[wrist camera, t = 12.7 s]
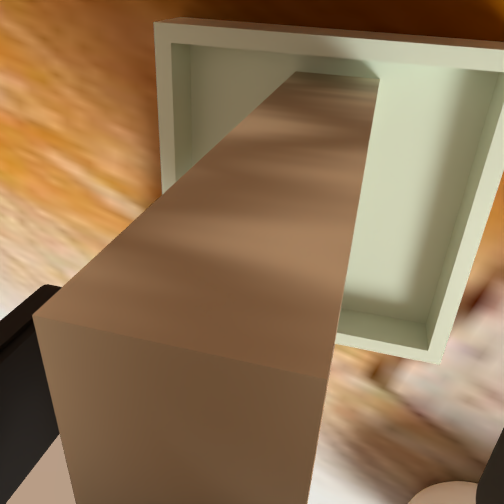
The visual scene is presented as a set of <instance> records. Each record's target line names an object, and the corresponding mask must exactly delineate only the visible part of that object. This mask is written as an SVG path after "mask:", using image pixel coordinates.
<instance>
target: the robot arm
mask: <svg viewBox="0 0 504 504" xmlns="http://www.w3.org/2000/svg"><path fill="white" fill-rule="evenodd" d="M61 288H62V287H58V286H53V285H49V284H47V285H43V286H42V287H40V288H39V289H38V290H37V291H35V292H34V293H33V294H32V295H31V296H29V297H28V298H27V299H26V300H25V301H23V302H22V303H21V304H20V305H19V306H17V307H16V308H15V309H14V310H13V311H11V312H10V313H9V314H8V315H7V316H5V317H4V318H3V319H2V320H1V321H0V504H6V502H7V501H8V500H9V499H10V497H11V496H12V495H13V493H14V492H15V491H16V489H17V488H18V487H19V486H20V484H21V483H22V482H23V480H24V479H25V477H26V476H27V475H28V474H29V473H30V471H31V470H32V469H33V467H34V466H35V465H36V463H37V462H38V461H39V460H40V458H41V457H42V456H43V454H44V453H45V452H46V451H47V449H48V448H49V447H50V445H51V444H52V443H53V441H54V440H55V439H56V438H57V436H58V435H59V434H60V433H59V428H58V424H57V420H56V416H55V411H54V407H53V403H52V398H51V394H50V390H49V386H48V381H47V377H46V373H45V368H44V364H43V360H42V356H41V351H40V347H39V343H38V338H37V334H36V330H35V326H34V321H33V317H32V315H33V314H34V313H35V312H36V311H37V310H38V309H39V308H40V307H41V306H43V305H44V304H45V303H46V302H47V301H48V300H49V299H50V298H51V297H52V296H53V295H54V294H56V293H57V292H58V291H59V290H60V289H61ZM476 504H504V428H503V430H502V433H501V435H500V437H499V439H498V441H497V444H496V446H495V448H494V450H493V452H492V454H491V457H490V459H489V461H488V463H487V465H486V468H485V470H484V472H483V474H482V476H481V478H480V481H479V483H478V486H477V490H476Z"/></svg>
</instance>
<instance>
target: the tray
mask: <svg viewBox="0 0 504 504" xmlns="http://www.w3.org/2000/svg"><path fill="white" fill-rule="evenodd" d="M153 24H154V43H155V63H156V83H157V102H158V122H159V141H160V161H161V181H162V194H164V193H165V192H166V191H167V190H168V189H169V188H170V187H171V186H172V185H173V184H174V183H175V182H177V181H178V180H179V179H180V178H181V177H182V176H183V175H184V174H185V173H186V172H187V171H188V170H190V169H191V168H192V167H193V166H194V165H195V164H196V163H197V162H198V161H199V160H200V159H201V158H202V157H204V156H205V155H206V154H207V153H208V152H209V151H210V150H211V149H212V148H213V147H214V146H215V145H217V144H218V143H219V142H220V141H221V140H222V139H223V138H224V137H225V136H226V135H227V134H228V133H229V132H231V131H232V130H233V129H234V128H235V127H236V126H237V125H238V124H239V123H240V122H241V121H242V120H244V119H245V118H246V117H247V116H248V115H249V114H250V113H251V112H252V111H253V110H254V109H255V108H257V107H258V106H259V105H260V104H261V103H262V102H263V101H264V100H265V99H266V98H267V97H268V96H269V95H271V94H272V93H273V92H274V91H275V90H276V89H277V88H278V87H279V86H280V85H281V84H282V83H284V82H285V81H286V80H287V79H288V78H289V77H290V76H291V75H292V74H293V73H294V72H295V71H298V72H309V73H320V74H330V75H341V76H352V77H363V78H374V79H380V82H379V88H378V94H377V100H376V106H375V111H374V117H373V123H372V129H371V135H370V141H369V147H368V153H367V158H366V164H365V170H364V176H363V182H362V188H361V194H360V199H359V205H358V211H357V217H356V223H355V229H354V235H353V241H352V246H351V252H350V258H349V264H348V270H347V276H346V282H345V287H344V293H343V299H342V305H341V311H340V317H339V322H338V328H337V334H336V340H335V344H340V345H345V346H350V347H354V348H359V349H364V350H369V351H374V352H379V353H384V354H389V355H393V356H398V357H403V358H408V359H413V360H418V361H423V362H428V363H432V364H437V365H440V363H441V360H442V357H443V354H444V351H445V348H446V344H447V341H448V338H449V335H450V332H451V329H452V326H453V323H454V320H455V317H456V314H457V311H458V308H459V305H460V302H461V299H462V296H463V293H464V290H465V286H466V283H467V280H468V277H469V274H470V271H471V268H472V265H473V262H474V259H475V256H476V253H477V250H478V247H479V244H480V241H481V238H482V235H483V232H484V228H485V225H486V222H487V219H488V216H489V213H490V210H491V207H492V204H493V201H494V198H495V195H496V192H497V189H498V186H499V183H500V180H501V177H502V174H503V171H504V42H499V41H486V40H473V39H461V38H448V37H435V36H422V35H409V34H396V33H383V32H370V31H357V30H344V29H331V28H318V27H305V26H292V25H279V24H266V23H253V22H240V21H227V20H214V19H202V18H189V17H177V18H172V19H166V20H161V21H156V22H153Z"/></svg>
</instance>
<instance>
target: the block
mask: <svg viewBox="0 0 504 504" xmlns="http://www.w3.org/2000/svg"><path fill="white" fill-rule="evenodd" d="M379 82H380V79H374V78H363V77H352V76H341V75H330V74H320V73H309V72H298V71H295V72H294V73H293V74H292V75H291V76H290V77H289V78H288V79H287V80H286V81H285V82H284V83H282V84H281V85H280V86H279V87H278V88H277V89H276V90H275V91H274V92H273V93H272V94H271V95H269V96H268V97H267V98H266V99H265V100H264V101H263V102H262V103H261V104H260V105H259V106H258V107H257V108H255V109H254V110H253V111H252V112H251V113H250V114H249V115H248V116H247V117H246V118H245V119H244V120H242V121H241V122H240V123H239V124H238V125H237V126H236V127H235V128H234V129H233V130H232V131H231V132H229V133H228V134H227V135H226V136H225V137H224V138H223V139H222V140H221V141H220V142H219V143H218V144H217V145H215V146H214V147H213V148H212V149H211V150H210V151H209V152H208V153H207V154H206V155H205V156H204V157H202V158H201V159H200V160H199V161H198V162H197V163H196V164H195V165H194V166H193V167H192V168H191V169H190V170H188V171H187V172H186V173H185V174H184V175H183V176H182V177H181V178H180V179H179V180H178V181H177V182H175V183H174V184H173V185H172V186H171V187H170V188H169V189H168V190H167V191H166V192H165V193H164V194H162V195H161V196H160V197H159V198H158V199H157V200H156V201H155V202H154V203H153V204H152V205H151V206H150V207H148V208H147V209H146V210H145V211H144V212H143V213H142V214H141V215H140V216H139V217H138V218H137V219H135V220H134V221H133V222H132V223H131V224H130V225H129V226H128V227H127V228H126V229H125V230H124V231H123V232H121V233H120V234H119V235H118V236H117V237H116V238H115V239H114V240H113V241H112V242H111V243H110V244H108V245H107V246H106V247H105V248H104V249H103V250H102V251H101V252H100V253H99V254H98V255H97V256H95V257H94V258H93V259H92V260H91V261H90V262H89V263H88V264H87V265H86V266H85V267H84V268H83V269H81V270H80V271H79V272H78V273H77V274H76V275H75V276H74V277H73V278H72V279H71V280H70V281H68V282H67V283H66V284H65V285H64V286H63V287H62V288H61V289H60V290H59V291H58V292H57V293H56V294H54V295H53V296H52V297H51V298H50V299H49V300H48V301H47V302H46V303H45V304H44V305H43V306H41V307H40V308H39V309H38V310H37V311H36V312H35V313H34V314H33V315H32V317H33V321H34V326H35V330H36V334H37V338H38V343H39V347H40V351H41V356H42V360H43V364H44V368H45V373H46V377H47V381H48V386H49V390H50V394H51V398H52V403H53V407H54V411H55V416H56V420H57V424H58V428H59V433H60V437H61V441H62V445H63V450H64V454H65V458H66V463H67V467H68V471H69V475H70V479H71V484H72V488H73V492H74V497H75V501H76V504H307V503H308V497H309V491H310V485H311V480H312V474H313V468H314V462H315V456H316V451H317V445H318V439H319V433H320V427H321V421H322V416H323V410H324V404H325V398H326V392H327V386H328V381H329V375H330V369H331V363H332V357H333V352H334V346H335V340H336V334H337V328H338V322H339V317H340V311H341V305H342V299H343V293H344V287H345V282H346V276H347V270H348V264H349V258H350V252H351V246H352V241H353V235H354V229H355V223H356V217H357V211H358V205H359V199H360V194H361V188H362V182H363V176H364V170H365V164H366V158H367V153H368V147H369V141H370V135H371V129H372V123H373V117H374V111H375V106H376V100H377V94H378V88H379Z"/></svg>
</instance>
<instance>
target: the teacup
mask: <svg viewBox="0 0 504 504" xmlns="http://www.w3.org/2000/svg"><path fill="white" fill-rule="evenodd" d="M477 486H478V484H477V483H472V482H466V481H450V482H443V483H438V484H435V485H432V486H429V487H427V488H425V489H423V490H422V491H420V492H419V493H417V494H416V495H415V496H414V497H413V498H412V499H411V500H410V501H409V502H408V504H476V490H477Z"/></svg>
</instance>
